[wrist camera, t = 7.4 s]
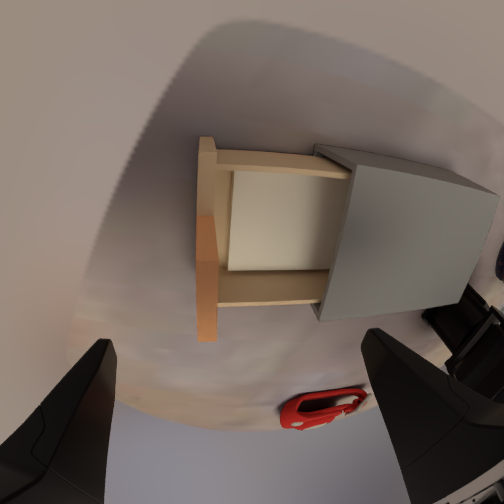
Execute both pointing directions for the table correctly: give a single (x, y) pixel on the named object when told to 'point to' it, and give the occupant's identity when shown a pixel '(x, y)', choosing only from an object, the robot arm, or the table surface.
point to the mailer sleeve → (402, 236)
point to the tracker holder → (320, 417)
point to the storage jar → (500, 264)
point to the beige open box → (264, 229)
